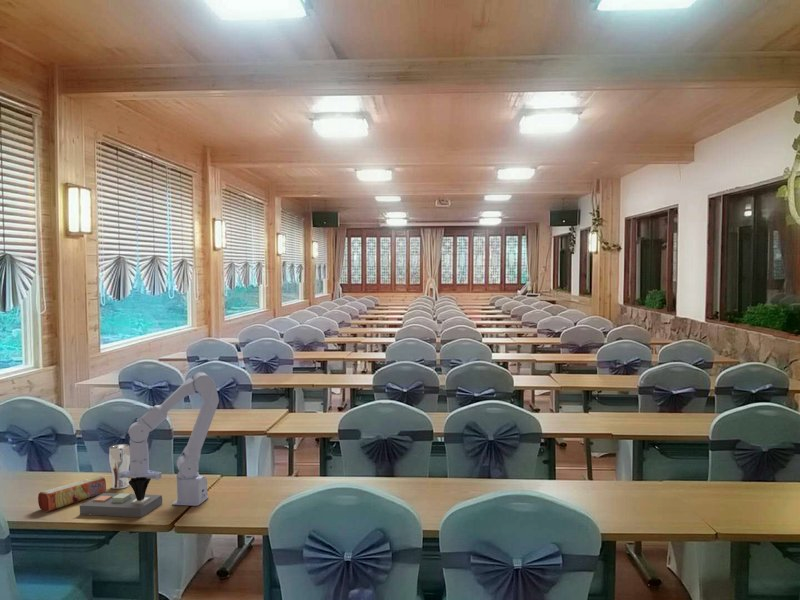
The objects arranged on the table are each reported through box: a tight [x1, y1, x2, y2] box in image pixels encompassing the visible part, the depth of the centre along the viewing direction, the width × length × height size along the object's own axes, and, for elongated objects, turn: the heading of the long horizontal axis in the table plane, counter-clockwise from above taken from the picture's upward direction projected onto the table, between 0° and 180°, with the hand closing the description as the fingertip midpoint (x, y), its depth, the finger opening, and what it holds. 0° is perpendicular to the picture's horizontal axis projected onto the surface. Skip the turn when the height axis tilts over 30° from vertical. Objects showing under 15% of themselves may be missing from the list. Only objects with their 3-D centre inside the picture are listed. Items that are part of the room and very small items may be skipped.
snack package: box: [37, 475, 107, 513], centre depth 208 cm, size 21×7×7 cm, turn 149°
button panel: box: [79, 492, 163, 518], centre depth 199 cm, size 22×12×3 cm, turn 80°
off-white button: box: [132, 497, 150, 504], centre depth 198 cm, size 4×4×3 cm
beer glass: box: [108, 443, 131, 490], centre depth 222 cm, size 7×7×15 cm
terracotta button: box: [93, 496, 112, 502], centre depth 200 cm, size 4×4×3 cm
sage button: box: [112, 493, 132, 503], centre depth 199 cm, size 4×4×3 cm
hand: (140, 499), depth 198 cm, fingers closed, pressing on off-white button
